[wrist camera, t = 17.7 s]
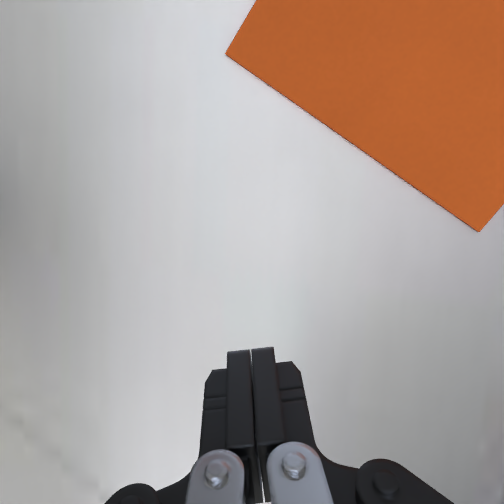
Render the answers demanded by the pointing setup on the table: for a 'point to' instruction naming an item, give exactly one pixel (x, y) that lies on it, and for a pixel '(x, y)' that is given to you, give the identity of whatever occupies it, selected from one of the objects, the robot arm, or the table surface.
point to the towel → (396, 85)
